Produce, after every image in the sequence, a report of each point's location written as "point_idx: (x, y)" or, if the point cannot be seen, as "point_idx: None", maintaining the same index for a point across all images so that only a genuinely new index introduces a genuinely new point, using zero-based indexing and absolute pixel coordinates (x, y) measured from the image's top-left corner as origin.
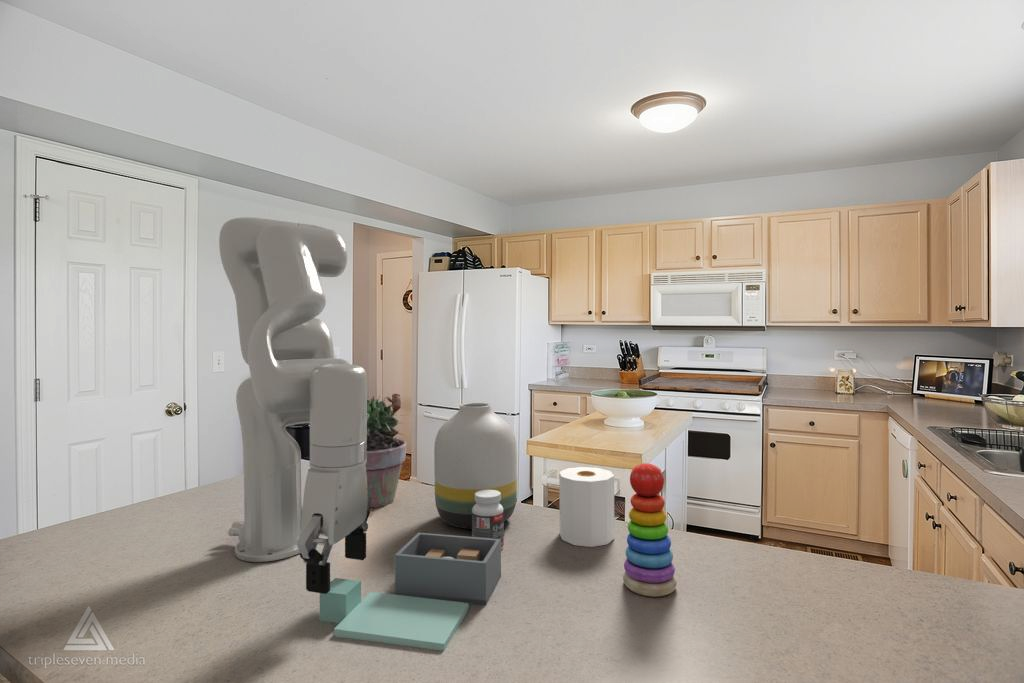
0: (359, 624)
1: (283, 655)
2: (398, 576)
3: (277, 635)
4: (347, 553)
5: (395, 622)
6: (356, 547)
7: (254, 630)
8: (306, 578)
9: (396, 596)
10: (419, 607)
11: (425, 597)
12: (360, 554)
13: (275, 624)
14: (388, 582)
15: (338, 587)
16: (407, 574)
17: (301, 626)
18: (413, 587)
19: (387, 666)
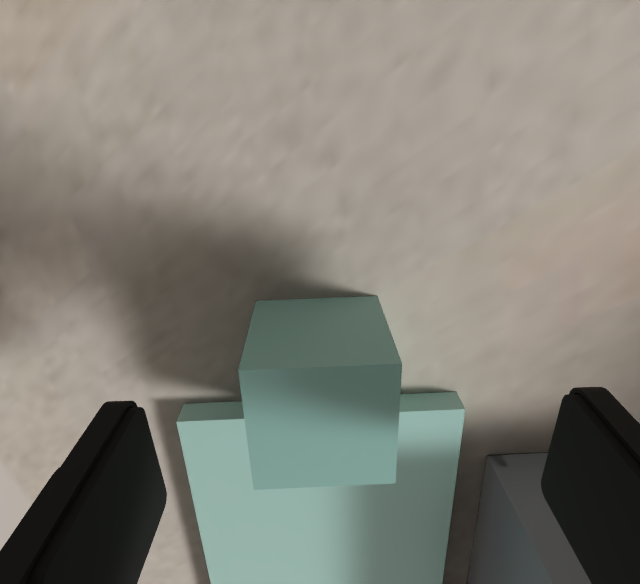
0: (232, 477)
1: (11, 316)
2: (517, 530)
3: (96, 205)
4: (580, 426)
5: (281, 554)
6: (594, 527)
7: (77, 63)
8: (70, 456)
9: (441, 496)
10: (382, 574)
11: (474, 541)
12: (560, 506)
13: (160, 133)
14: None
15: (303, 431)
16: (517, 570)
17: (191, 259)
18: (491, 539)
19: None
